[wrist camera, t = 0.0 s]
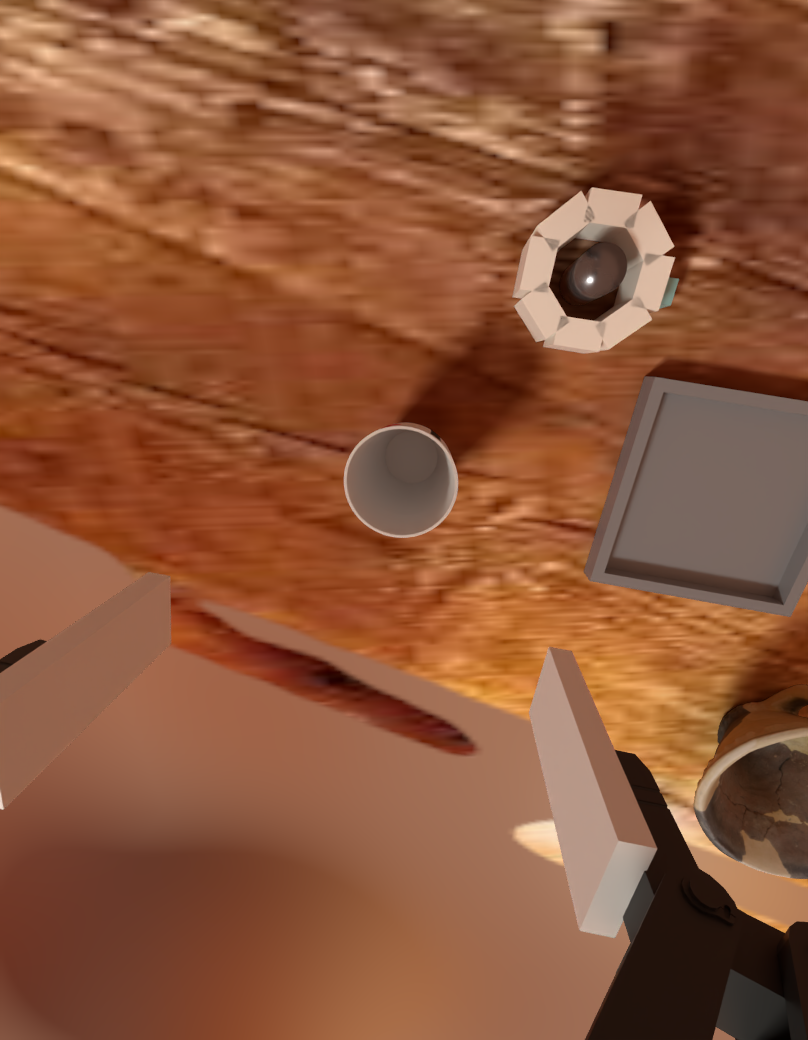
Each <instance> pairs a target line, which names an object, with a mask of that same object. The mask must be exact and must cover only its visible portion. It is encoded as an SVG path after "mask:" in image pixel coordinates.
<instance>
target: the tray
mask: <svg viewBox="0 0 808 1040" xmlns="http://www.w3.org/2000/svg"><path fill="white" fill-rule="evenodd" d="M584 573H585V574H586V576H587V577H588V579H589V580H590V581H593V582H599V583H604V584H610V585H615V586H621V587H627V588H632V589H638V590H643V591H649V592H654V593H660V594H666V595H671V596H677V597H682V598H688V599H693V600H699V601H705V602H710V603H716V604H721V605H727V606H732V607H738V608H744V609H749V610H755V611H760V612H766V613H771V614H777V615H783V616H788V617H791V615H792V613H793V611H794V609H795V607H796V605H797V603H798V601H799V598H800V596H801V594H802V592H803V590H804V588H805V586H806V584H807V582H808V401H802V400H796V399H789V398H783V397H777V396H771V395H765V394H758V393H752V392H746V391H740V390H733V389H727V388H721V387H715V386H709V385H702V384H696V383H690V382H684V381H678V380H671V379H665V378H659V377H646V376H645V377H644V381H643V384H642V387H641V390H640V393H639V397H638V400H637V403H636V406H635V409H634V413H633V416H632V419H631V422H630V425H629V429H628V432H627V435H626V438H625V441H624V445H623V448H622V451H621V454H620V457H619V461H618V464H617V467H616V470H615V473H614V477H613V480H612V483H611V486H610V489H609V493H608V496H607V499H606V502H605V505H604V509H603V512H602V515H601V518H600V521H599V525H598V528H597V531H596V534H595V537H594V541H593V544H592V547H591V550H590V554H589V557H588V560H587V563H586V566H585V570H584Z"/></svg>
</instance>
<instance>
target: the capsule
mask: <svg viewBox="0 0 808 1040" xmlns="http://www.w3.org/2000/svg"><path fill="white" fill-rule="evenodd" d="M626 271H627V259H626V256H625V253H624V252H623V250H622V249H621V248H620V247H619V246H617V245H616V244H613V243H609V242H603V243H599V244H596V245H594V246H592V247H591V248H590V249H588V250H587V251H586V252H585V253H584V254H583V255H581V256H580V257H579V258H578V259H577V260H576V261H574V262H573V263H572V264H571V265H570V266H568V267H567V268H566V270H565V271H564V272H563V274H562V276H561V279H560V285H559V287H560V293H561V295H562V297H563V299H564V300H565V301H566V302H567V303H569V304H571V305H576V306H580V305H584V304H587V303H589V302H591V301H593V300H595V299H597V298H600V297H602V296H604V295H606V294H608V293H610V292H612V291H614V290H615V289H616V288H617V287H618V286H619V285H620V284H621V283H622V281H623V279H624V277H625V275H626Z"/></svg>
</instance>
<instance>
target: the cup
mask: <svg viewBox="0 0 808 1040" xmlns="http://www.w3.org/2000/svg"><path fill="white" fill-rule="evenodd" d="M344 488H345V493H346V497H347V500H348V502H349V505H350V507H351V508H352V510H353V512H354V513H355V514H356V516H357V517H358V518H359V519H360V520H361V521H362V522H363V523H364V524H365V525H367V526H368V527H369V528H371V529H373V530H374V531H376V532H378V533H381V534H384V535H387V536H391V537H398V538H407V537H414V536H418V535H421V534H424V533H426V532H428V531H430V530H432V529H433V528H435V527H436V526H438V525H439V524H440V523H441V522H442V521H443V520H444V519H445V518H446V517H447V515H448V514H449V512H450V511H451V509H452V507H453V505H454V503H455V500H456V496H457V491H458V476H457V470H456V467H455V464H454V461H453V458H452V456H451V453H450V451H449V449H448V447H447V445H446V444H445V442H444V441H443V440H442V439H441V438H440V437H439V436H438V435H437V434H436V433H435V432H433V431H432V430H430V429H429V428H427V427H424V426H422V425H419V424H415V423H406V422H404V423H395V424H391V425H388V426H386V427H384V428H381V429H379V430H377V431H375V432H373V433H371V434H369V435H368V436H366V437H365V438H364V439H363V440H362V441H360V442H359V443H358V445H357V446H356V447H355V448H354V450H353V451H352V453H351V455H350V456H349V459H348V461H347V464H346V467H345V473H344Z"/></svg>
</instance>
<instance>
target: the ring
mask: <svg viewBox="0 0 808 1040" xmlns="http://www.w3.org/2000/svg"><path fill="white" fill-rule="evenodd" d="M641 198H642V195H641V194H634V193H627V192H620V191H613V190H606V189H599V188H591V189H590V190H589V192H588V193H587V194H586V195H585V196H584V195H583V193H582V191H580V192H579V193H578V194H576V195H575V196H574V197H573V198H571V199H570V200H569V201H568V202H566V203H565V204H564V205H563V206H561V207H560V208H559V209H558V210H556V211H555V212H554V213H553V214H551V215H550V216H549V217H548V218H546V219H545V220H544V221H543V222H541V223H540V224H539V225H538V226H537V227H536V229H535V230H534V232H533V233H532V235H531V237H530V238H529V240H528V242H527V243H526V245H525V246H524V248H523V250H522V254H521V259H520V264H519V269H518V273H517V278H516V283H515V288H514V292H513V297H515V298H521V300H520V301H519V302H518V303H517V304H516V305H515V306H514V307H515V309H516V310H517V312H518V314H519V315H520V317H521V318H522V320H523V322H524V323H525V325H526V327H527V328H528V330H529V331H530V333H531V335H532V336H533V338H534V340H535V341H536V342H539V341H542V340H545V341H544V345H543V347H547V348H553V349H559V350H566V351H572V352H578V353H593V352H599V351H600V350H608V349H610V348H612V347H613V346H614V345H616V344H617V343H619V342H620V341H622V340H623V339H625V338H626V337H628V336H629V335H630V334H632V333H633V332H635V331H636V330H638V329H639V328H641V327H642V326H643V325H645V324H646V323H648V322H649V321H651V320H652V318H651V317H650V315H649V313H652V312H655V311H659V309H660V308H663V307H667V306H670V305H671V303H672V300H673V297H674V294H675V291H676V287H677V284H678V281H679V279H677V278H670V277H669V276H670V272H671V269H672V266H673V263H674V259H675V257H669V256H663V254H665V253H666V252H667V251H669V250H670V249H672V248H673V247H674V245H673V243H672V241H671V239H670V237H669V235H668V233H667V231H666V229H665V227H664V225H663V223H662V222H661V220H660V218H659V216H658V214H657V212H656V210H655V208H654V206H653V204H652V202H651V201H650V202H648V203H647V204H646V205H644V206H643V207H642V208H640V209H639V206H640V202H641ZM638 209H639V210H638ZM574 238H578V239H585V240H591V241H598V242H609V243H613V244H616V245H617V246H619V247H620V248H621V249H622V250H623V252H624V253H625V256H626V259H627V271H626V275H625V277H624V279H623V281H622V283H621V284H620V285H619V289H618V292H617V296H616V300H615V303H614V307H612V308H611V309H609V310H608V311H607V312H605V313H604V314H602V315H601V316H599V317H598V318H597V319H595V320H594V321H592V320H586V319H579V318H573V317H567V316H566V314H565V313H564V311H563V309H562V308H561V306H560V304H559V303H558V301H557V299H556V298H555V296H554V294H553V292H552V291H551V289H550V287H549V284H550V279H551V275H552V271H553V266H554V262H555V258H556V254H557V252H558V251H559V250H560V249H561V248H563V247H564V246H565V245H567V244H568V243H569V242H571V241H572V240H573V239H574Z"/></svg>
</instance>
